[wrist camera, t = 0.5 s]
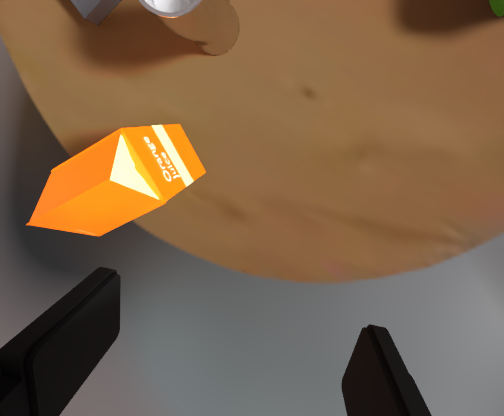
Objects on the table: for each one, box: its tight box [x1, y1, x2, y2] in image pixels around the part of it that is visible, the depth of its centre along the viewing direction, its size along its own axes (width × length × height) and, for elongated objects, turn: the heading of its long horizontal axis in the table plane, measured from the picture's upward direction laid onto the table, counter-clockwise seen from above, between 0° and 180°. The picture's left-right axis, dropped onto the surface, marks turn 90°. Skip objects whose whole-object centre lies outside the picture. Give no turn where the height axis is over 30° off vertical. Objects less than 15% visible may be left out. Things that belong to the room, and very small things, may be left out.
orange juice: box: [27, 124, 206, 236], centre depth 30 cm, size 8×9×20 cm
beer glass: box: [138, 0, 240, 55], centre depth 27 cm, size 7×7×15 cm
